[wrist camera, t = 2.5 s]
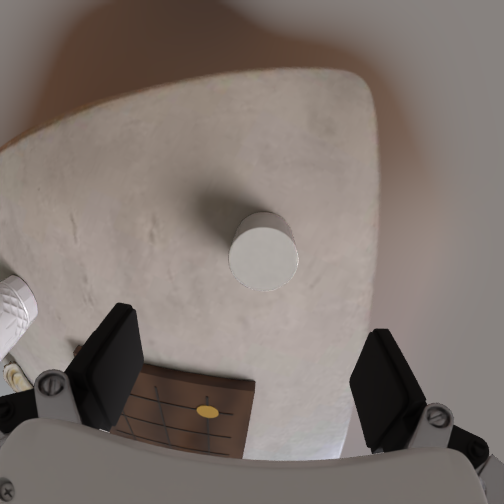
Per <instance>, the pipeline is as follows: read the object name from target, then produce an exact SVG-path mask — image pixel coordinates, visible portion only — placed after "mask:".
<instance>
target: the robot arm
mask: <svg viewBox="0 0 504 504" xmlns="http://www.w3.org/2000/svg"><path fill="white" fill-rule="evenodd" d="M143 363H144V357H143V351H142V346H141V340H140V334H139V328H138V321H137V314H136V310H135V309H133V308H132V306H131V305H129V304H124V303H117V304H116V305H115V306H114V307H113V308H112V310H111V311H110V312H109V314H108V315H107V316H106V317H105V319H104V320H103V321H102V323H101V324H100V325H99V327H98V328H97V329H96V330H95V331H94V332H93V333H92V334H91V336H90V337H89V338H88V340H87V341H86V342H85V344H84V345H83V347H82V348H81V349H80V351H79V352H78V353H77V355H76V356H75V358H74V359H73V360H72V362H71V363H70V365H69V366H68V368H67V369H66V370H65V372H62V371H60V370H55V369H52V370H47V371H44V372H43V373H41V374H40V375H39V376H38V377H37V378H36V380H35V383H34V388H32V389H28V390H25V391H21V392H17V393H13V394H10V395H5V396H1V397H0V504H504V464H503V463H502V462H501V461H500V460H498V458H496V457H495V456H494V455H493V454H492V455H491V456H489V447H488V445H487V443H486V442H485V441H484V440H483V439H482V438H480V437H478V436H476V435H474V434H472V433H469V432H468V431H465V430H463V429H461V428H459V427H457V426H455V425H453V423H454V417H453V414H452V412H451V411H450V409H448V408H447V407H446V406H445V405H443V404H440V403H431V404H428V405H427V403H426V398H425V396H424V394H423V392H422V390H421V388H420V386H419V384H418V382H417V380H416V378H415V376H414V374H413V372H412V370H411V369H410V367H409V365H408V363H407V361H406V360H405V358H404V356H403V354H402V352H401V350H400V348H399V347H398V345H397V343H396V341H395V340H394V338H393V336H392V334H391V333H390V331H389V330H388V329H374V330H373V332H370V333H369V335H368V337H367V340H366V342H365V344H364V347H363V349H362V352H361V354H360V356H359V359H358V361H357V363H356V366H355V368H354V370H353V372H352V375H351V377H350V382H349V383H350V388H351V391H352V395H353V398H354V401H355V405H356V408H357V412H358V416H359V419H360V422H361V426H362V430H363V434H364V438H365V441H366V445H367V447H368V448H371V452H372V454H373V455H366V456H358V457H350V458H339V459H327V460H308V461H267V460H248V459H235V458H225V457H217V456H209V455H202V454H196V453H190V452H184V451H179V450H173V449H169V448H164V447H159V446H155V445H151V444H147V443H143V442H139V441H135V440H132V439H128V438H124V437H121V436H117V435H114V434H111V433H108V432H110V430H111V427H112V426H116V424H117V422H118V420H119V418H120V415H121V413H122V411H123V409H124V406H125V404H126V402H127V399H128V397H129V395H130V393H131V390H132V388H133V386H134V384H135V382H136V379H137V377H138V375H139V373H140V371H141V369H142V366H143ZM99 429H102V430H105V431H108V432H105V431H102V430H99ZM381 452H384V453H381ZM376 453H380V454H376Z"/></svg>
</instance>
